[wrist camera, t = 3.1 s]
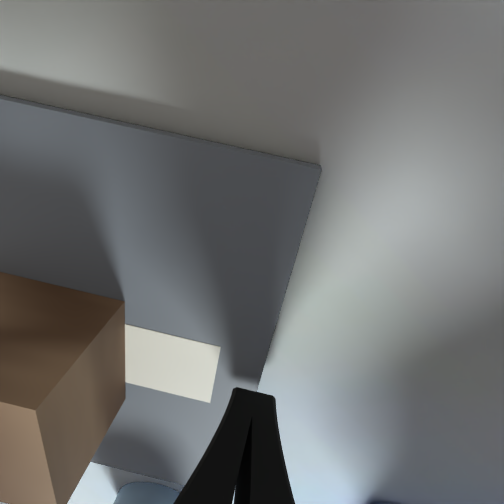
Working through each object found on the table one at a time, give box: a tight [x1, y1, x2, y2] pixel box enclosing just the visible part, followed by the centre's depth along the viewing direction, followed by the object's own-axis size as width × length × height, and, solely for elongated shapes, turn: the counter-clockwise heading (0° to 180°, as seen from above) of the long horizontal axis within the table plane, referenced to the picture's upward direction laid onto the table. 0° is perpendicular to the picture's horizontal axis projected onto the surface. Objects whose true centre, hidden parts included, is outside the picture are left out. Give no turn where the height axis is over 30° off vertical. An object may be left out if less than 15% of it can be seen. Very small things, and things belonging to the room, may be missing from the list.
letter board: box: [0, 95, 321, 485], centre depth 12 cm, size 15×16×1 cm
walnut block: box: [0, 272, 126, 504], centre depth 10 cm, size 5×5×4 cm
